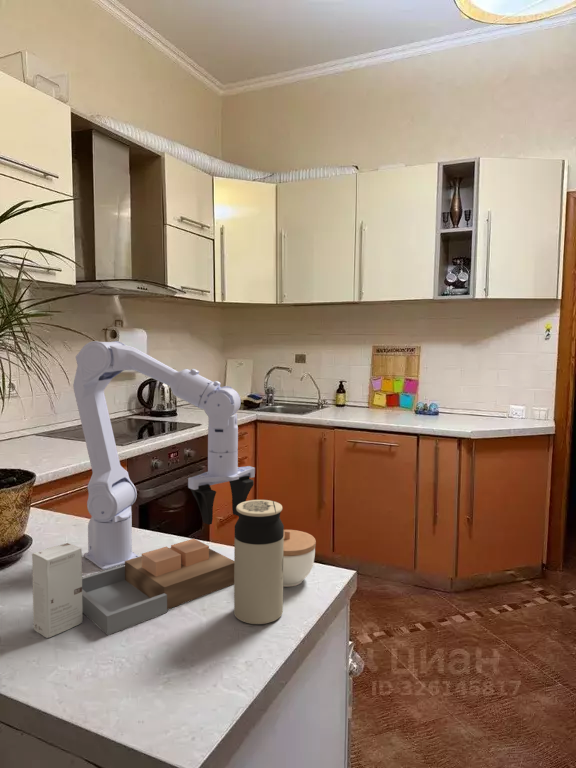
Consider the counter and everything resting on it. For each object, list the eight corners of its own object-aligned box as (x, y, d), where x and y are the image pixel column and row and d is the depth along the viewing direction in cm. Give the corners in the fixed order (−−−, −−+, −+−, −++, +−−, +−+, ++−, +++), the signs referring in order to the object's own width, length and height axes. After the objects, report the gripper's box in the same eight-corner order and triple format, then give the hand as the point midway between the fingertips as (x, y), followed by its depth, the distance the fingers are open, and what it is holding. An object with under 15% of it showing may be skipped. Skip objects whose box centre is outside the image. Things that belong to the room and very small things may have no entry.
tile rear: (171, 558, 100) (171, 545, 99) (193, 551, 103) (193, 538, 103) (185, 566, 96) (185, 553, 96) (208, 559, 99) (208, 546, 99)
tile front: (141, 567, 96) (141, 553, 95) (166, 559, 99) (166, 546, 99) (155, 576, 92) (155, 562, 92) (181, 568, 95) (181, 554, 95)
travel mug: (230, 625, 84) (231, 513, 83) (237, 600, 92) (238, 498, 91) (281, 627, 84) (282, 514, 82) (284, 602, 92) (285, 499, 90)
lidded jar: (247, 584, 98) (247, 534, 97) (275, 563, 108) (276, 517, 107) (299, 598, 93) (300, 546, 92) (324, 574, 103) (325, 527, 102)
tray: (67, 598, 92) (67, 581, 92) (123, 580, 99) (122, 564, 99) (107, 635, 81) (107, 616, 80) (167, 612, 88) (166, 594, 87)
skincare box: (48, 639, 79) (46, 560, 78) (31, 630, 82) (29, 553, 81) (84, 622, 84) (83, 547, 83) (68, 613, 87) (67, 541, 86)
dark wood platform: (125, 582, 98) (124, 561, 98) (194, 559, 109) (194, 540, 108) (164, 610, 88) (164, 587, 88) (236, 583, 99) (236, 562, 98)
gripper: (203, 459, 95) (203, 533, 96) (264, 448, 105) (264, 515, 106) (181, 452, 100) (182, 523, 101) (242, 443, 110) (242, 507, 111)
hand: (222, 518), depth 104 cm, fingers open, 7 cm apart
